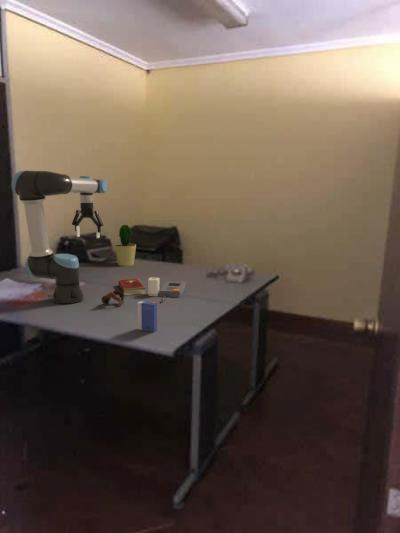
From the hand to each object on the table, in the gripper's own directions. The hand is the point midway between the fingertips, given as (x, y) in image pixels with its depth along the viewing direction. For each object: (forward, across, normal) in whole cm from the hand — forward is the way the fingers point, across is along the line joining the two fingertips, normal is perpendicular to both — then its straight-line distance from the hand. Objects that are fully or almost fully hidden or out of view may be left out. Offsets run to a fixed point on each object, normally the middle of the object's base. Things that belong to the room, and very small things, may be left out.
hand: (88, 237), depth 241 cm
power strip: (+26, -60, +18) cm, 68 cm away
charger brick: (+26, -51, +21) cm, 61 cm away
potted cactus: (+26, -3, -46) cm, 53 cm away
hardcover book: (+27, -35, +15) cm, 47 cm away
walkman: (+27, -67, +70) cm, 101 cm away
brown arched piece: (+27, -38, +44) cm, 64 cm away
